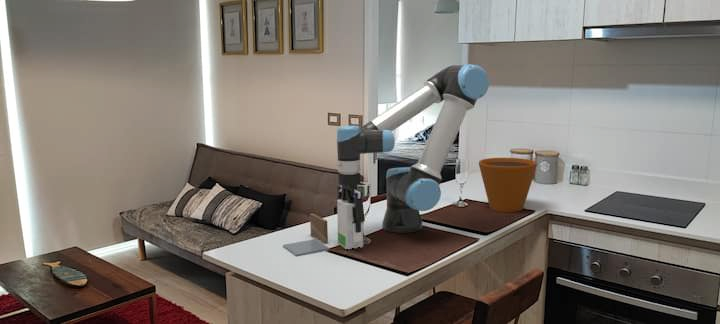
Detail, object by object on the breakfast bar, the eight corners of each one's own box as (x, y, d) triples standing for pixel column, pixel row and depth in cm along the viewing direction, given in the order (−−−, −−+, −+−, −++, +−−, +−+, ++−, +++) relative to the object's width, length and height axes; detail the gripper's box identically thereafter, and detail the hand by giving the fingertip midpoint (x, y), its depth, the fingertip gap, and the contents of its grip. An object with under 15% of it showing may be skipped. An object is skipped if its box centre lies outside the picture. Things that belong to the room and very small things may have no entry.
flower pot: (515, 218, 214) (516, 168, 210) (466, 207, 231) (467, 162, 228) (546, 207, 229) (548, 161, 226) (499, 198, 247) (499, 155, 243)
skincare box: (337, 243, 185) (335, 199, 183) (355, 241, 188) (353, 197, 186) (346, 250, 178) (345, 204, 175) (364, 247, 180) (363, 201, 178)
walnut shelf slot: (342, 229, 202) (341, 209, 201) (357, 237, 192) (357, 215, 191) (310, 235, 196) (310, 213, 195) (324, 243, 186) (324, 221, 185)
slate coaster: (314, 240, 190) (314, 239, 189) (329, 249, 179) (329, 248, 179) (282, 246, 184) (282, 244, 184) (296, 256, 173) (296, 254, 173)
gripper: (325, 169, 186) (327, 232, 190) (354, 178, 168) (355, 248, 172) (344, 166, 190) (346, 228, 193) (374, 175, 172) (376, 244, 175)
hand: (350, 237), depth 182 cm, fingers closed on skincare box, 8 cm apart
